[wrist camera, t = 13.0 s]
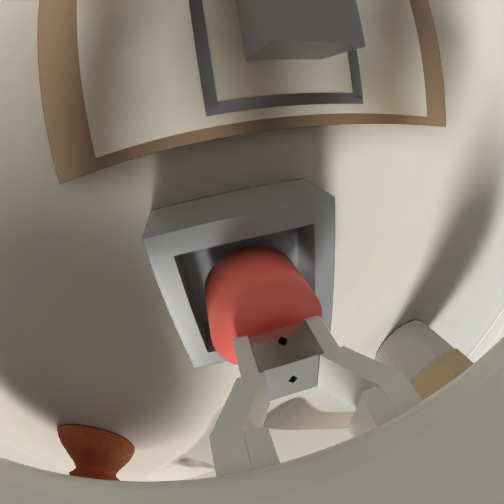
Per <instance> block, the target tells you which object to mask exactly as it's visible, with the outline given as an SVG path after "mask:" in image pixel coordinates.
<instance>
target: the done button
mask: <svg viewBox="0 0 504 504" xmlns="http://www.w3.org/2000/svg"><path fill="white" fill-rule="evenodd" d="M204 296H205V302H206V309H207V315H208V322H209V328H210V334H211V340H212V344H213V346H214V348H215V350H216V351H217V353H218V354H219V355H220V356H221V357H222V358H224V359H225V360H227V361H229V362H231V363H233V364H236V365H238V362H237V358H236V354H235V350H234V346H233V341H232V338H237V337H241V336H246V335H249V334H253V333H258V332H262V331H266V330H270V329H274V328H277V327H280V326H284V325H287V324H290V323H294V322H297V321H300V320H304V319H307V318H310V317H313V316H317V315H318V316H320V317H321V319H322V307H321V304H320V301H319V299H318V298H317V296H316V295H315V294H314V292H313V291H312V289H311V288H310V286H309V285H308V283H307V282H306V281H305V279H304V278H303V276H302V275H301V274H300V272H299V271H298V269H297V268H296V266H295V265H294V264H293V262H292V261H291V259H290V258H289V257H288V256H287V255H286V254H285V253H283V252H282V251H280V250H278V249H276V248H273V247H270V246H265V245H251V246H245V247H242V248H238V249H236V250H234V251H231V252H230V253H228V254H226V255H225V256H223V257H222V258H221V259H220V260H219V261H217V262H216V263H215V265H214V266H213V267H212V268H211V270H210V272H209V273H208V276H207V278H206V281H205V286H204Z"/></svg>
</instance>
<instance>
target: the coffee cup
mask: <svg viewBox="0 0 504 504" xmlns="http://www.w3.org/2000/svg"><path fill="white" fill-rule="evenodd" d="M375 360H376V361H378V362H380V363H383V364H385V365H387V366H390V367H392V368H394V369H397V370H399V371H401V372H403V374H404V375H405V376H406V378H407V379H408V381H409V382H410V383H411V385H412V386H413V388H414V389H415V390H416V392H417V393H418V395H419V396H420V398H421V399H422V400H424V399H426V398H427V397H429V396H430V395H432V394H433V393H435V392H436V391H438V390H439V389H441V388H442V387H444V386H445V385H446V384H448V383H449V382H451V381H452V380H453V379H455V378H456V377H457V376H459V375H460V374H461V373H463V372H464V371H465V370H466V369H468V368H469V367H470V366H471V365H473V364H474V363H472V362H471V361H470V360H469V359H468V358H467V357H466V356H465V355H464V354H462V353H461V352H460V351H459V350H458V349H454V348H453V347H452V346H451V345H450V344H448V343H447V342H446V341H445V340H444V339H443V338H441V337H440V336H439V335H438V334H437V333H436V332H434V331H433V330H432V329H431V328H430V327H428V326H427V325H426V324H425V323H424V322H422V321H420V320H414V321H411V322H408V323H406V324H404V325H402V326H401V327H399V328H398V329H396V330H395V331H394V332H393V333H392V334H391V335H390V336H389V337H388V338H387V339H386V340H385V341H384V343H383V344H382V345H381V347H380V348H379V350H378V352H377V354H376V358H375Z"/></svg>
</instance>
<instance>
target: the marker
mask: <svg viewBox="0 0 504 504" xmlns="http://www.w3.org/2000/svg"><path fill="white" fill-rule="evenodd" d="M236 6H237V11H238V17H239V23H240V29H241V35H242V41H243V47H244V53H245V60H246V61H259V60H279V59H316V60H322V59H325V58H328V57H331V56H334V55H338V54H341V53H345V52H348V51H352V50H356V49H359V48H363V47H365V41H364V35H363V30H362V25H361V20H360V16H359V12H358V7H357V3H356V0H236Z"/></svg>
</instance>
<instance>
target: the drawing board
mask: <svg viewBox="0 0 504 504" xmlns="http://www.w3.org/2000/svg"><path fill="white" fill-rule="evenodd" d="M356 3H357V7H358V12H359V16H360V20H361V25H362V30H363V35H364V41H365V47H363V48H359V49H356V50H352V51H348V52H345V53H341V54H338V55H334V56H331V57H328V58H325V59H322V60H316V59H279V60H259V61H246V60H245V53H244V47H243V41H242V35H241V29H240V23H239V17H238V11H237V6H236V0H39V12H38V66H39V79H40V89H41V97H42V105H43V112H44V118H45V123H46V129H47V134H48V139H49V144H50V148H51V152H52V157H53V161H54V165H55V168H56V172H57V176H58V179H59V183H60V184H62V183H65V182H67V181H70V180H72V179H75V178H78V177H80V176H83V175H86V174H88V173H91V172H94V171H97V170H100V169H103V168H106V167H109V166H112V165H115V164H118V163H121V162H124V161H128V160H131V159H134V158H138V157H141V156H145V155H149V154H152V153H156V152H160V151H164V150H168V149H172V148H176V147H180V146H184V145H189V144H193V143H198V142H203V141H208V140H213V139H218V138H223V137H229V136H235V135H241V134H247V133H254V132H261V131H269V130H277V129H286V128H295V127H306V126H319V125H337V124H413V125H429V126H441V127H446V111H445V94H444V82H443V73H442V65H441V58H440V52H439V46H438V41H437V36H436V31H435V27H434V22H433V18H432V14H431V10H430V7H429V3H428V0H356Z"/></svg>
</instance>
